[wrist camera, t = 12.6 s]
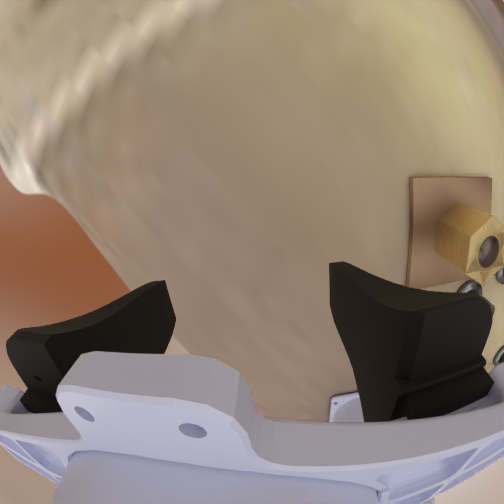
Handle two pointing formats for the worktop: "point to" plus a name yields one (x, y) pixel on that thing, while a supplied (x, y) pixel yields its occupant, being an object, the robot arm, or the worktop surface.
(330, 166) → the worktop surface
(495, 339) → the worktop surface
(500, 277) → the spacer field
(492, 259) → the brass nut
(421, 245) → the board
